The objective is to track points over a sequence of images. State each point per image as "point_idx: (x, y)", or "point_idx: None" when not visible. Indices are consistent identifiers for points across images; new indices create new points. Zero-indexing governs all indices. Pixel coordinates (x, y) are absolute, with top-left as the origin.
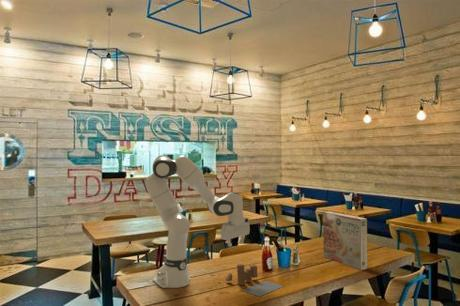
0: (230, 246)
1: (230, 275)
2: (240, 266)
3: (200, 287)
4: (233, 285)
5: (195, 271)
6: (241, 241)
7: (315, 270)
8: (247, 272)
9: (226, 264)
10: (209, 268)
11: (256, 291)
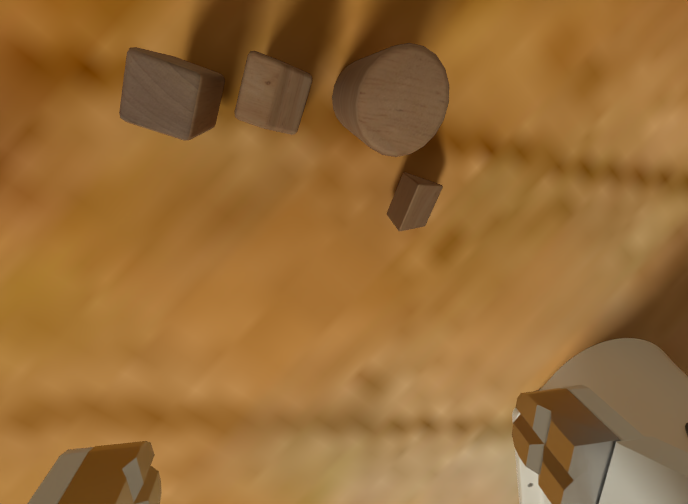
0: (555, 390)
1: (422, 192)
2: (440, 65)
3: (591, 256)
4: None
5: (403, 487)
6: (127, 492)
7: None
8: (304, 71)
9: None
10: (299, 488)
11: None
